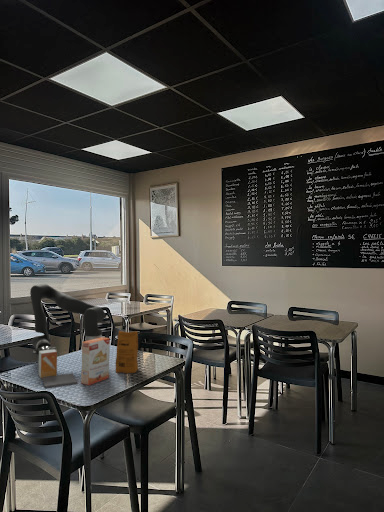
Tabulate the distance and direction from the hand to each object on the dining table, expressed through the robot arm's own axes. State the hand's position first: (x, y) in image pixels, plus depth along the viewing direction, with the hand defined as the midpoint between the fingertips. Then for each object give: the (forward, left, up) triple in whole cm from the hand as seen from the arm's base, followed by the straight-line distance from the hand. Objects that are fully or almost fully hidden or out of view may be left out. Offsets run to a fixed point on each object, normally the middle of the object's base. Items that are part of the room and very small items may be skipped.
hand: (46, 354), depth 199 cm
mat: (-5, +20, -10) cm, 22 cm away
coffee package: (-40, +18, -10) cm, 45 cm away
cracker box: (-21, +27, -10) cm, 36 cm away
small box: (0, +8, -10) cm, 13 cm away
